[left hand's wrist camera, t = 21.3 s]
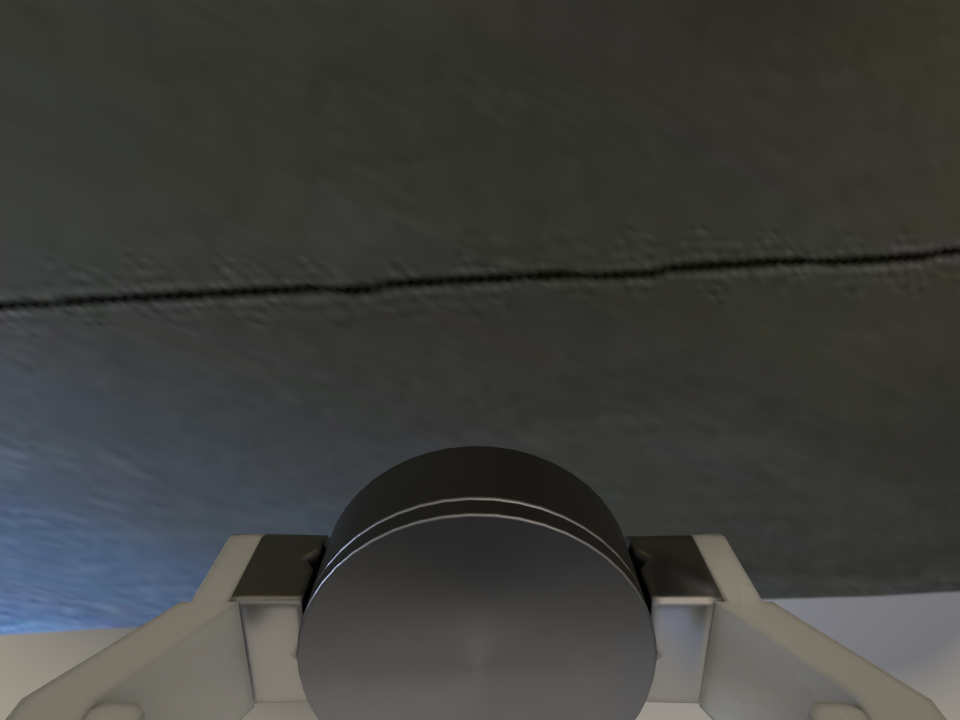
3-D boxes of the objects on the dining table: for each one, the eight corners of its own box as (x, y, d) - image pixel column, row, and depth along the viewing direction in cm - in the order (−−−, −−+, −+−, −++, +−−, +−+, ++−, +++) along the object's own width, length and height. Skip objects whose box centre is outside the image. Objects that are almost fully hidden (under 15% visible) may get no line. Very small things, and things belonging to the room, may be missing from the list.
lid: (280, 629, 11) (243, 725, 9) (405, 391, 9) (388, 452, 8) (535, 730, 12) (544, 834, 10) (688, 525, 10) (729, 606, 8)
